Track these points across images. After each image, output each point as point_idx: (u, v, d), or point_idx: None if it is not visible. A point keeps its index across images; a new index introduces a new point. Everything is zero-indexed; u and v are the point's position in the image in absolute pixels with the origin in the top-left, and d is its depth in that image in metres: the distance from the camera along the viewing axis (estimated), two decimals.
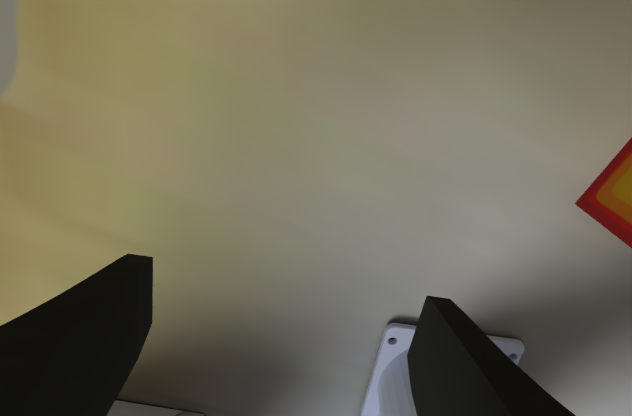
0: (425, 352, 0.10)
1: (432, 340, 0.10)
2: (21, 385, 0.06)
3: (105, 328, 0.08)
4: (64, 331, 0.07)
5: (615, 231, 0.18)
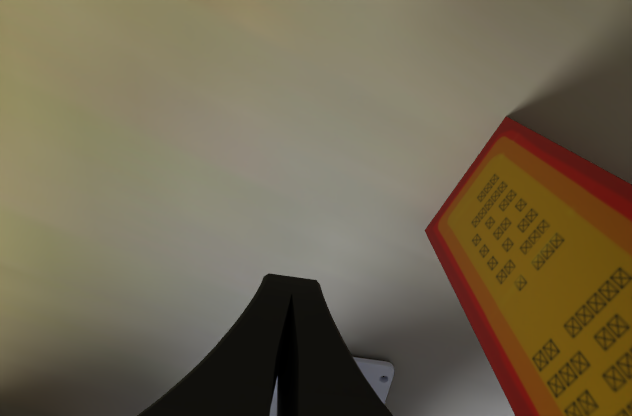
0: (285, 333, 0.10)
1: (288, 321, 0.10)
2: None
3: (279, 350, 0.09)
4: (271, 357, 0.07)
5: (441, 260, 0.19)
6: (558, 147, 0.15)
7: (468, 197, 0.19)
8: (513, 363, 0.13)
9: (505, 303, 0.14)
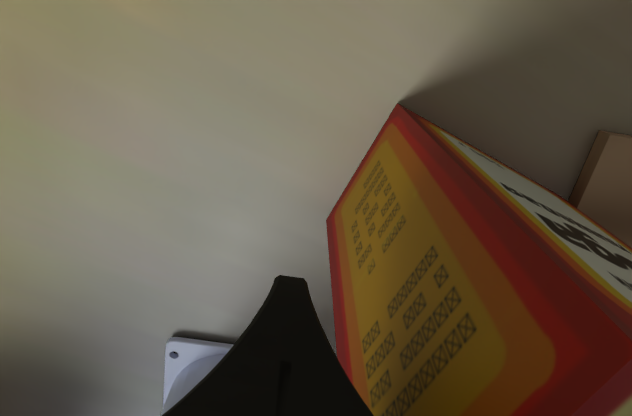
0: None
1: None
2: None
3: None
4: (287, 359, 0.07)
5: (330, 248, 0.19)
6: (421, 130, 0.15)
7: (358, 184, 0.19)
8: (350, 347, 0.12)
9: (358, 287, 0.14)
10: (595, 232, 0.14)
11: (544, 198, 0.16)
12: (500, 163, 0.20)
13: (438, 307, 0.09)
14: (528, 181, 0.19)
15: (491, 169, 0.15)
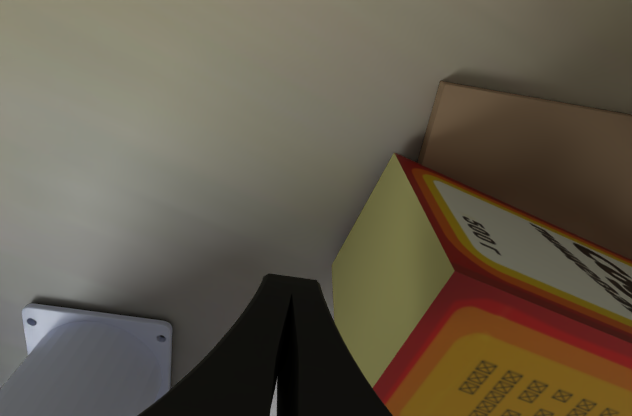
0: (284, 334, 0.10)
1: (288, 321, 0.10)
2: None
3: (279, 350, 0.09)
4: (271, 357, 0.07)
5: None
6: (604, 335, 0.12)
7: (435, 388, 0.13)
8: None
9: None
10: (552, 242, 0.18)
11: (530, 241, 0.16)
12: (433, 197, 0.16)
13: None
14: (448, 196, 0.17)
15: (573, 283, 0.14)
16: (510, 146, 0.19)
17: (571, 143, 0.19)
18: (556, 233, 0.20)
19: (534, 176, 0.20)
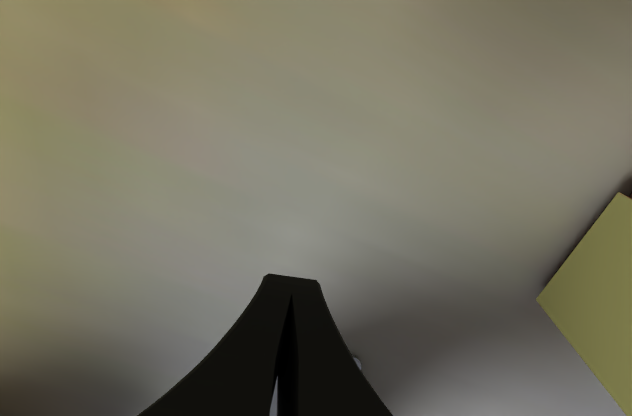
0: (284, 333, 0.10)
1: (287, 321, 0.10)
2: None
3: (279, 350, 0.09)
4: (271, 357, 0.07)
5: None
6: None
7: None
8: None
9: None
10: None
11: None
12: None
13: None
14: None
15: None
16: None
17: None
18: None
19: None
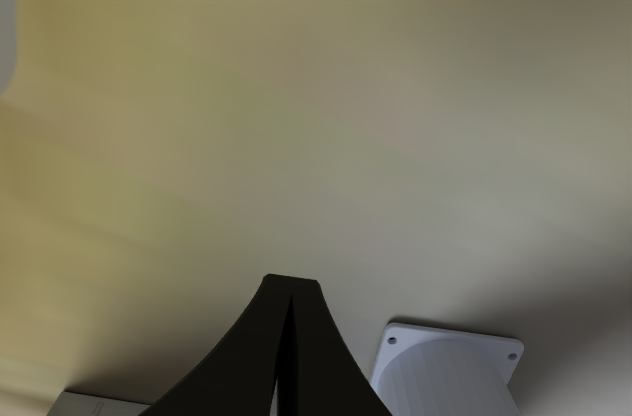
0: (284, 334, 0.10)
1: (287, 321, 0.10)
2: None
3: (279, 350, 0.09)
4: (270, 357, 0.07)
5: None
6: None
7: None
8: None
9: None
10: None
11: None
12: None
13: None
14: None
15: None
16: None
17: None
18: None
19: None
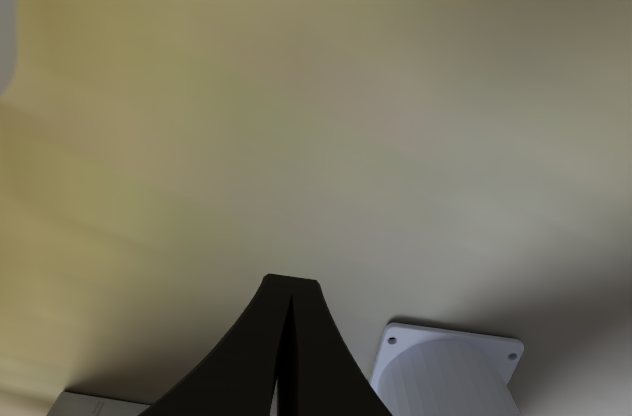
0: (284, 334, 0.10)
1: (287, 321, 0.10)
2: None
3: (279, 350, 0.09)
4: (270, 357, 0.07)
5: None
6: None
7: None
8: None
9: None
10: None
11: None
12: None
13: None
14: None
15: None
16: None
17: None
18: None
19: None
